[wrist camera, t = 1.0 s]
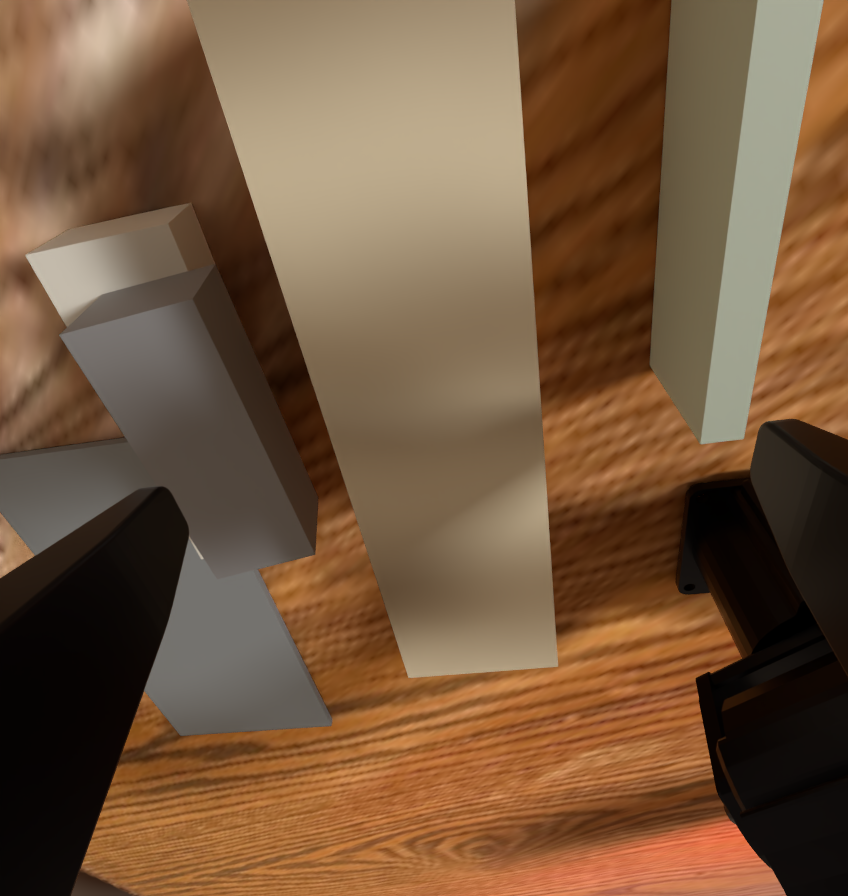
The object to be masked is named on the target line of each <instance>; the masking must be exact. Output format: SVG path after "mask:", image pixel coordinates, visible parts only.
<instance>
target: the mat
mask: <svg viewBox="0 0 848 896" xmlns="http://www.w3.org/2000/svg"><path fill="white" fill-rule="evenodd" d="M147 487H156V484H155V482H154V481H153V479H152V478H151V476H150V475H149V473H148V472H147V470H146V469H145V467H144V465H143V464H142V462H141V461H140V459H139V458H138V456H137V455H136V453H135V452H134V450H133V448H132V447H131V445H130V444H129V442H128V441H127V439H126V438H118V439H111V440H103V441H96V442H89V443H82V444H74V445H67V446H60V447H53V448H45V449H38V450H31V451H24V452H16V453H9V454H2V455H0V512H1V514H2V515H3V516H4V517H5V519H6V520H7V521H8V522H9V524H10V525H11V526H12V527H13V529H14V530H15V531H16V532H17V534H18V535H19V536H20V537H21V539H22V540H23V541H24V542H25V543H26V545H27V546H28V547H29V548H30V550H31V551H32V552H33V553H34V555H35V556H36V555H37V554H39V553H40V552H42V551H43V550H45V549H46V548H48V547H50V546H51V545H53V544H54V543H56V542H57V541H59V540H60V539H62V538H63V537H65V536H66V535H68V534H70V533H71V532H73V531H74V530H76V529H77V528H79V527H80V526H82V525H83V524H85V523H86V522H88V521H90V520H91V519H93V518H94V517H96V516H97V515H99V514H100V513H102V512H103V511H105V510H106V509H108V508H110V507H111V506H113V505H114V504H116V503H117V502H119V501H120V500H122V499H123V498H125V497H126V496H128V495H130V494H131V493H133V492H134V491H136V490H138V489H140V488H147ZM144 691H145V692H146V693H147V695H148V696H149V697H150V698H151V700H152V701H153V702H154V703H155V705H156V706H157V707H158V708H159V710H160V711H161V712H162V713H163V715H164V716H165V717H166V718H167V720H168V721H169V722H170V723H171V724H172V726H173V727H174V728H175V729H176V731H177V732H178V733H179V734H180V736H186V735H202V734H217V733H232V732H247V731H262V730H278V729H293V728H308V727H323V726H331V725H332V718H331V716H330V714H329V712H328V710H327V708H326V706H325V704H324V702H323V700H322V698H321V696H320V694H319V692H318V690H317V688H316V686H315V684H314V682H313V680H312V678H311V676H310V674H309V672H308V670H307V668H306V666H305V664H304V661H303V659H302V657H301V655H300V653H299V651H298V649H297V647H296V645H295V643H294V641H293V639H292V637H291V635H290V633H289V631H288V629H287V627H286V625H285V623H284V621H283V619H282V617H281V615H280V613H279V611H278V609H277V607H276V605H275V603H274V601H273V599H272V597H271V595H270V593H269V591H268V589H267V587H266V585H265V583H264V581H263V579H262V577H261V575H260V573H259V571H258V569H257V570H253V571H249V572H245V573H241V574H237V575H233V576H229V577H225V578H221V579H217V578H216V577H215V575H214V574H213V572H212V571H211V569H210V567H209V566H208V564H207V563H206V561H205V560H204V559H201V558H200V556H199V555H198V553H197V551H196V550H195V548H194V546H193V544H192V543H191V541H190V539H189V540H188V544H187V548H186V552H185V556H184V561H183V565H182V569H181V573H180V577H179V581H178V586H177V590H176V594H175V598H174V602H173V606H172V610H171V614H170V617H169V621H168V624H167V627H166V630H165V633H164V636H163V639H162V642H161V645H160V648H159V650H158V653H157V656H156V659H155V662H154V664H153V667H152V670H151V673H150V676H149V678H148V681H147V684H146V687H145V690H144Z"/></svg>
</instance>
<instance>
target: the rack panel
mask: <svg viewBox="0 0 848 896" xmlns="http://www.w3.org/2000/svg"><path fill="white" fill-rule="evenodd" d="M822 6H823V0H672V2H671V18H670V35H669V51H668V68H667V85H666V101H665V118H664V134H663V151H662V167H661V184H660V200H659V217H658V233H657V250H656V267H655V283H654V300H653V316H652V333H651V349H650V367H651V368H652V370H653V372H654V373H655V375H656V376H657V378H658V379H659V381H660V382H661V384H662V385H663V387H664V389H665V390H666V392H667V393H668V395H669V396H670V398H671V399H672V401H673V403H674V404H675V406H676V407H677V409H678V410H679V412H680V413H681V415H682V417H683V418H684V420H685V421H686V423H687V424H688V426H689V427H690V429H691V430H692V432H693V434H694V435H695V437H696V438H697V440H698V441H699V443H700V444H706V443H714V442H723V441H731V440H739V439H744V435H745V429H746V424H747V418H748V413H749V407H750V402H751V396H752V391H753V385H754V380H755V374H756V369H757V363H758V358H759V352H760V347H761V341H762V336H763V330H764V325H765V319H766V314H767V308H768V303H769V297H770V292H771V286H772V281H773V275H774V270H775V264H776V259H777V253H778V248H779V242H780V237H781V231H782V226H783V220H784V215H785V209H786V204H787V198H788V193H789V187H790V182H791V176H792V171H793V165H794V160H795V154H796V149H797V143H798V138H799V132H800V127H801V121H802V116H803V110H804V105H805V99H806V94H807V88H808V83H809V77H810V72H811V66H812V61H813V55H814V50H815V44H816V39H817V33H818V28H819V22H820V17H821V11H822Z"/></svg>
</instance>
